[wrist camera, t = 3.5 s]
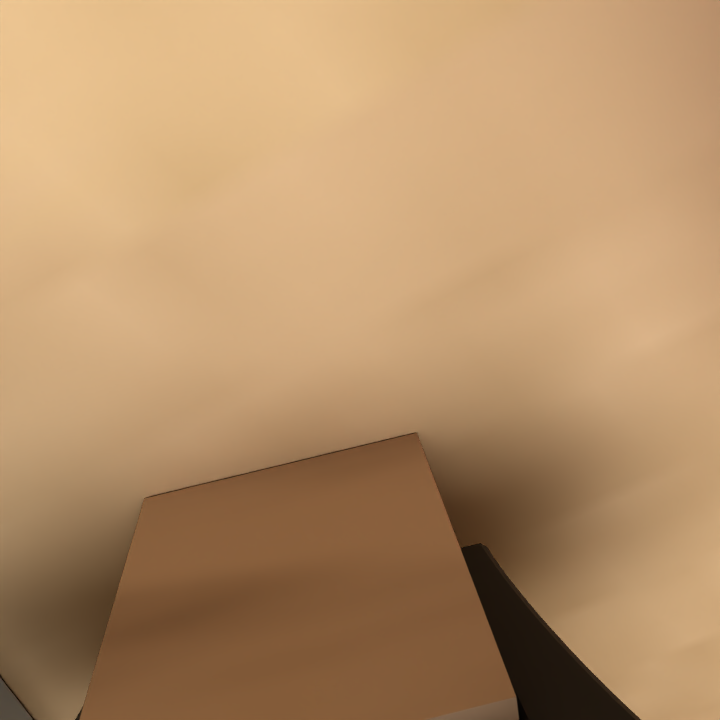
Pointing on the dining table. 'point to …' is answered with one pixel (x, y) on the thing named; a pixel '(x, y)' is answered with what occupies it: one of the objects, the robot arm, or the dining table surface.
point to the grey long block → (11, 705)
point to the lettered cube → (301, 601)
